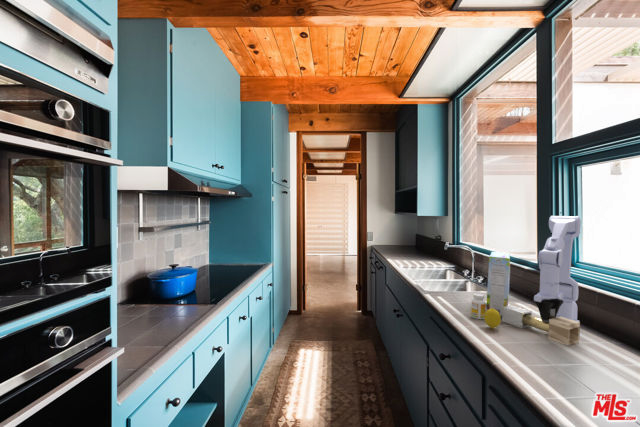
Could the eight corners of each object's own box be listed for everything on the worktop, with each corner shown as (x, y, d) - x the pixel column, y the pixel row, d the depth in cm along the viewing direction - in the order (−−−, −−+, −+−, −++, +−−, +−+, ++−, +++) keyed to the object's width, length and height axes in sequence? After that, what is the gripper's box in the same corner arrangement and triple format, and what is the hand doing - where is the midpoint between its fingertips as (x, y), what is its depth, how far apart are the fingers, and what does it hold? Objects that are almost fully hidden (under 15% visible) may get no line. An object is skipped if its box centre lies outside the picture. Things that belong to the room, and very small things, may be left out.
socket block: (560, 335, 114) (560, 316, 114) (579, 342, 109) (579, 322, 109) (548, 338, 112) (549, 319, 111) (567, 345, 106) (568, 325, 106)
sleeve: (511, 319, 131) (512, 305, 131) (531, 326, 123) (531, 311, 123) (502, 321, 128) (502, 306, 128) (521, 328, 121) (522, 312, 121)
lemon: (502, 332, 117) (503, 311, 116) (486, 330, 118) (487, 309, 117) (497, 326, 122) (498, 306, 122) (482, 325, 123) (482, 305, 123)
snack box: (508, 318, 132) (510, 258, 131) (485, 314, 136) (487, 256, 136) (508, 305, 150) (510, 252, 150) (488, 302, 155) (489, 250, 154)
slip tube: (522, 321, 126) (523, 299, 125) (569, 337, 110) (570, 312, 110) (516, 322, 124) (516, 300, 124) (562, 339, 109) (563, 313, 109)
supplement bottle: (484, 316, 134) (484, 293, 134) (486, 320, 129) (486, 297, 129) (470, 314, 136) (470, 292, 136) (472, 318, 131) (472, 295, 130)
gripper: (549, 286, 108) (548, 325, 108) (573, 283, 114) (571, 319, 114) (528, 282, 115) (527, 318, 115) (552, 279, 121) (551, 313, 121)
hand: (548, 318), depth 115 cm, fingers open, 4 cm apart
